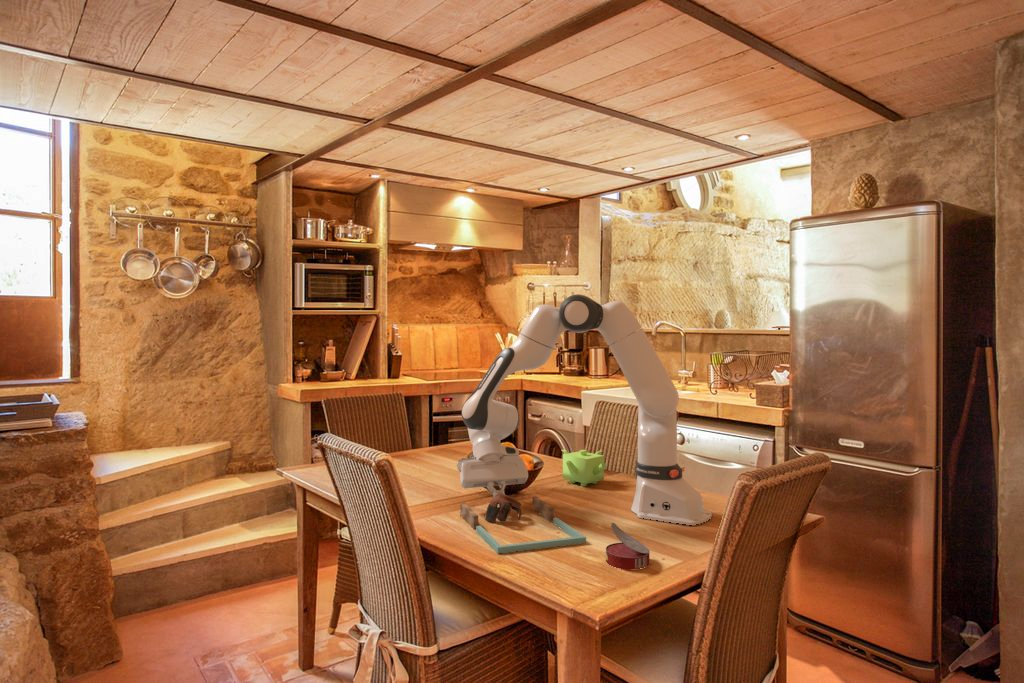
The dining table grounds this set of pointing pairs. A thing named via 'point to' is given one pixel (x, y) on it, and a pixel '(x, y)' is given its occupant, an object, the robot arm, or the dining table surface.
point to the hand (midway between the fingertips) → (499, 497)
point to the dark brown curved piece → (502, 508)
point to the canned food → (626, 551)
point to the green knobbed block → (583, 467)
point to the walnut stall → (536, 505)
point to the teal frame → (575, 539)
